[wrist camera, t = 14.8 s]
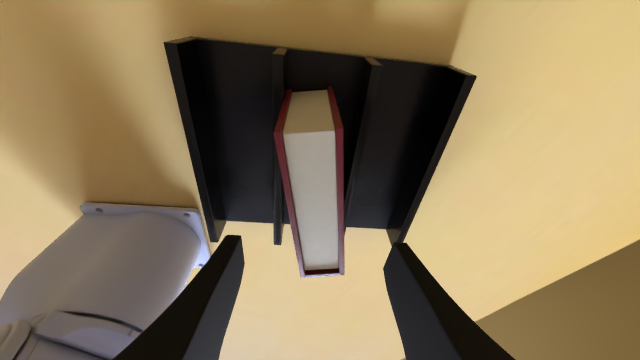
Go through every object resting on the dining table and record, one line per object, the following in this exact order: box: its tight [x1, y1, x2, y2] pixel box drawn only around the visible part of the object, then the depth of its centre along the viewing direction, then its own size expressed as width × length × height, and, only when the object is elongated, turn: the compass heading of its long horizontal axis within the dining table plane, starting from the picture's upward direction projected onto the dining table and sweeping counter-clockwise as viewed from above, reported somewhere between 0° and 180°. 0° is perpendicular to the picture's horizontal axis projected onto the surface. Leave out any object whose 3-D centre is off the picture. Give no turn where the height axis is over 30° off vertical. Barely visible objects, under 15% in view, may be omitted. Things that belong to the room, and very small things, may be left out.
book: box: [274, 86, 344, 278], centre depth 15 cm, size 3×10×6 cm, turn 4°
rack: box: [164, 37, 477, 246], centre depth 17 cm, size 16×14×3 cm
